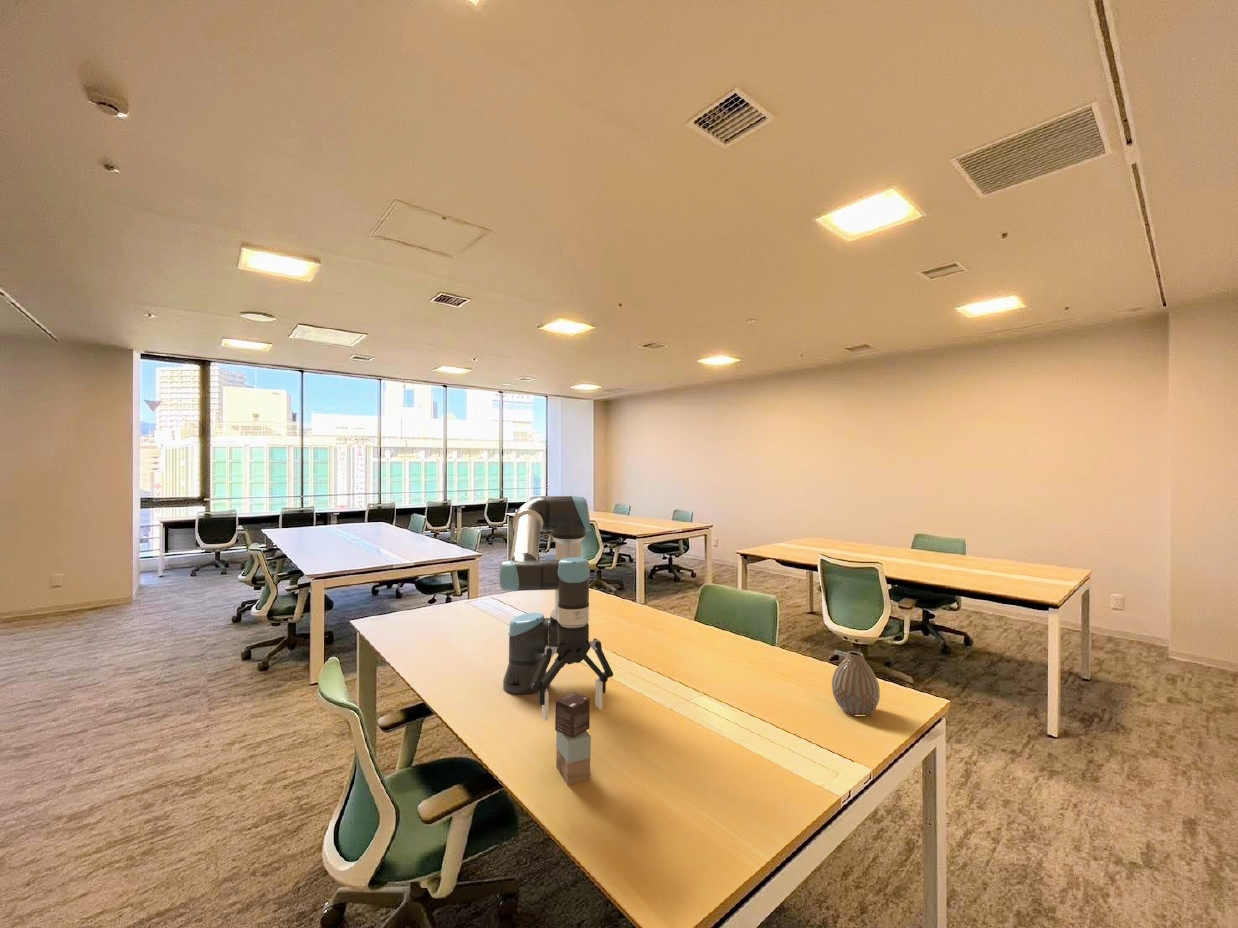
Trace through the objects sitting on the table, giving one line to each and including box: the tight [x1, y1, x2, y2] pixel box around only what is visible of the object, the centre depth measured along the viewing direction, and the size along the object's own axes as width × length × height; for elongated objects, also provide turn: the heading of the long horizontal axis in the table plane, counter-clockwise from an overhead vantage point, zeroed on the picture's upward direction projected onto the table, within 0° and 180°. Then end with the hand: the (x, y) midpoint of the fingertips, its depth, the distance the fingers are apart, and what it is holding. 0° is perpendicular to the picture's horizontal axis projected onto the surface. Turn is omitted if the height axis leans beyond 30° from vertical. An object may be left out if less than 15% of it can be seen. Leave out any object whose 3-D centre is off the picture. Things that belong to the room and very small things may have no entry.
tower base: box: [555, 747, 591, 786], centre depth 118 cm, size 8×6×5 cm
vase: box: [831, 650, 881, 716], centre depth 150 cm, size 13×13×18 cm
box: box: [554, 691, 591, 738], centre depth 119 cm, size 6×6×7 cm
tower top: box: [555, 730, 592, 763], centre depth 118 cm, size 8×6×5 cm
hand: (572, 712), depth 119 cm, fingers open, 13 cm apart
